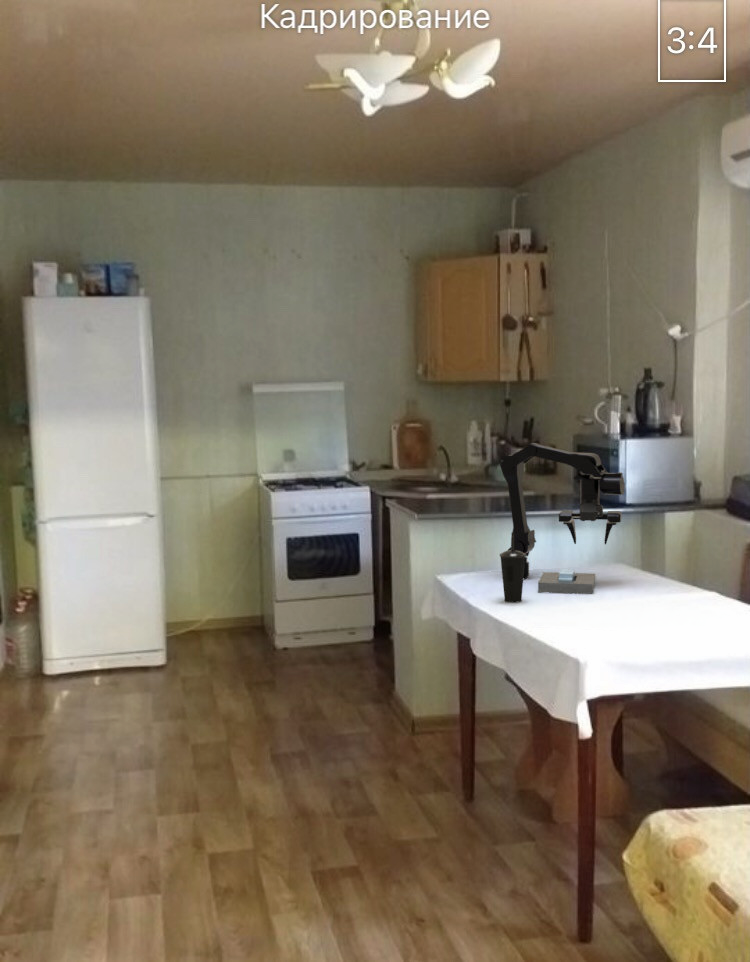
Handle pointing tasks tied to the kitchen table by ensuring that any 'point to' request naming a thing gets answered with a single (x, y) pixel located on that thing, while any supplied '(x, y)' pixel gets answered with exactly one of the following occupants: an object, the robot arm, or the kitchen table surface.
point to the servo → (567, 575)
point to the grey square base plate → (567, 583)
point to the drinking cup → (512, 573)
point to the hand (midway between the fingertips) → (590, 544)
